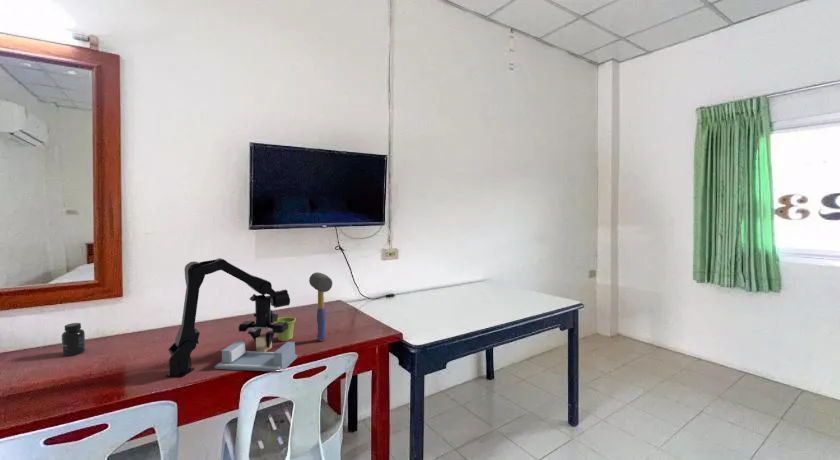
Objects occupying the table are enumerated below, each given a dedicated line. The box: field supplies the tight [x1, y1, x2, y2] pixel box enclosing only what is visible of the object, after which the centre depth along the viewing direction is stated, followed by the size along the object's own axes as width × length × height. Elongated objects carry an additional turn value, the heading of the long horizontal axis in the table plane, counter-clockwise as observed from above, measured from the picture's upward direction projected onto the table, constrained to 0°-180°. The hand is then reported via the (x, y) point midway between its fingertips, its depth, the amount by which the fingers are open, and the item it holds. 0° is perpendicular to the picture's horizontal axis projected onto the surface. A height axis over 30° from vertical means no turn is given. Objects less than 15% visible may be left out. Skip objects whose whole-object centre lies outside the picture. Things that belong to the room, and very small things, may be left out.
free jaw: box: [221, 340, 247, 364], centre depth 143 cm, size 10×4×5 cm, turn 174°
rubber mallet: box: [308, 272, 333, 342], centre depth 165 cm, size 12×8×30 cm, turn 33°
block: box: [255, 332, 273, 352], centre depth 153 cm, size 6×4×6 cm, turn 174°
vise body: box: [214, 341, 298, 372], centre depth 142 cm, size 13×26×6 cm, turn 84°
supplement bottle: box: [61, 322, 86, 357], centre depth 151 cm, size 7×7×12 cm
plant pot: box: [273, 316, 297, 342], centre depth 167 cm, size 9×9×9 cm
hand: (264, 347), depth 153 cm, fingers closed on block, 3 cm apart
